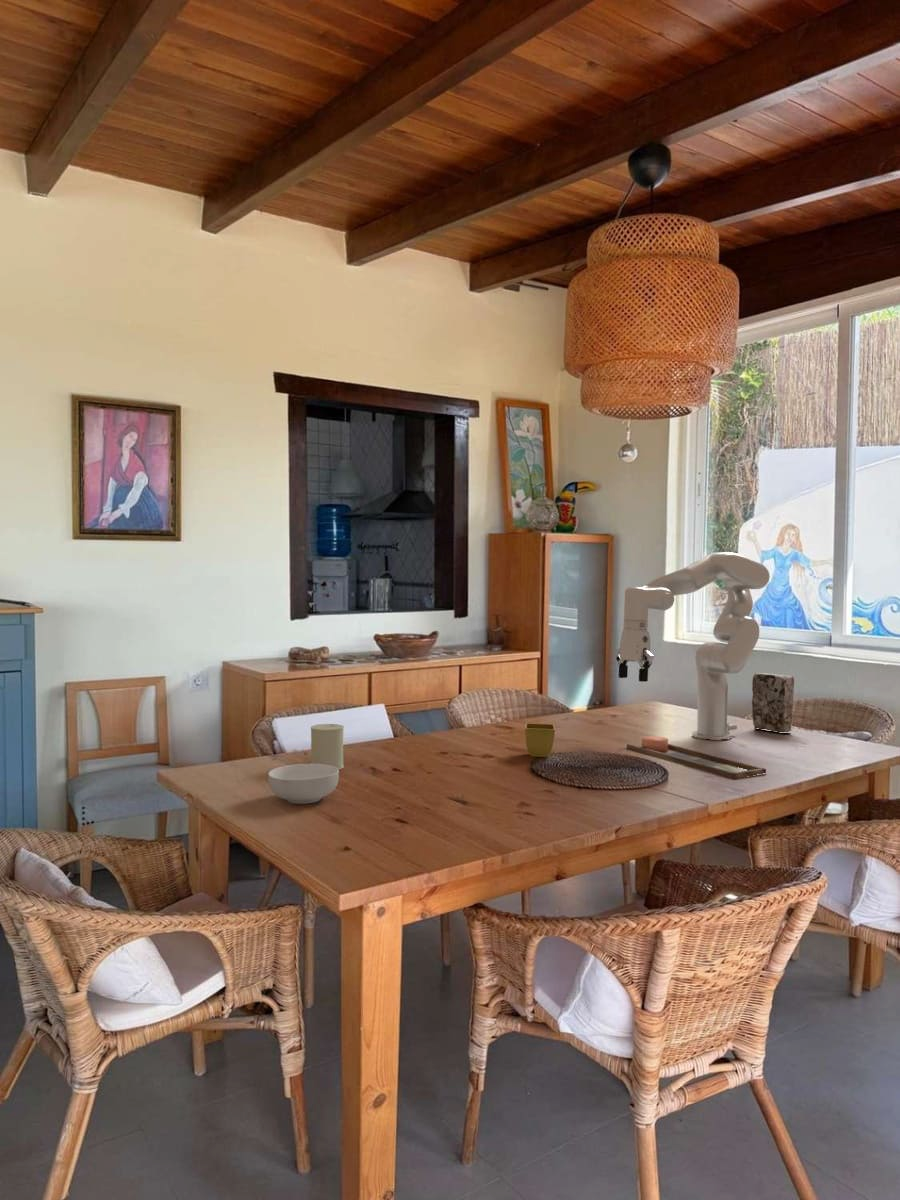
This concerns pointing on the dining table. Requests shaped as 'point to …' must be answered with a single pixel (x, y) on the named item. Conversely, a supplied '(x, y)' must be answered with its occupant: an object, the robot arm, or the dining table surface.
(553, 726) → the flower pot
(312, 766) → the cereal bowl
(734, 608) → the robot arm
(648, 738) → the salmon rounded disc
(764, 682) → the stone block
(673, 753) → the trap lane
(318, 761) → the can
